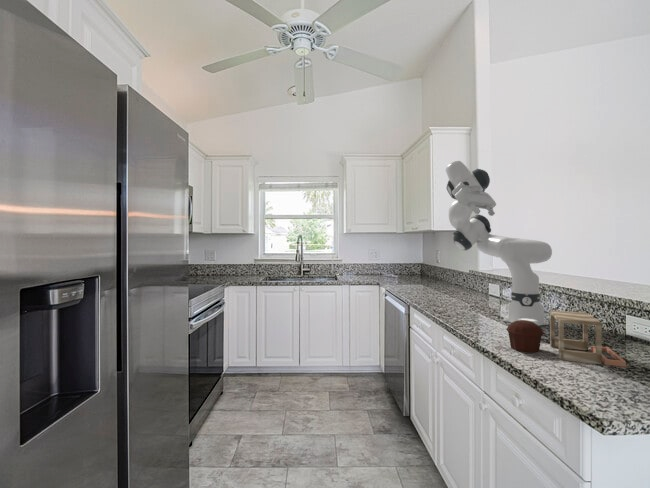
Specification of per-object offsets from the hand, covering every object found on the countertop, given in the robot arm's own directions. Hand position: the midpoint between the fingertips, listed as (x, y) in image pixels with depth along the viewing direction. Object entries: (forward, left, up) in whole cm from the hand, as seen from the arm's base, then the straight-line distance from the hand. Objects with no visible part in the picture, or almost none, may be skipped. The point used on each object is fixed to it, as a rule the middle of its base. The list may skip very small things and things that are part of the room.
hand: (485, 213), depth 144 cm
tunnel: (+17, +27, -50) cm, 59 cm away
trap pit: (+17, +36, -50) cm, 64 cm away
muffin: (+17, +12, -50) cm, 54 cm away
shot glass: (-2, +15, -50) cm, 53 cm away
